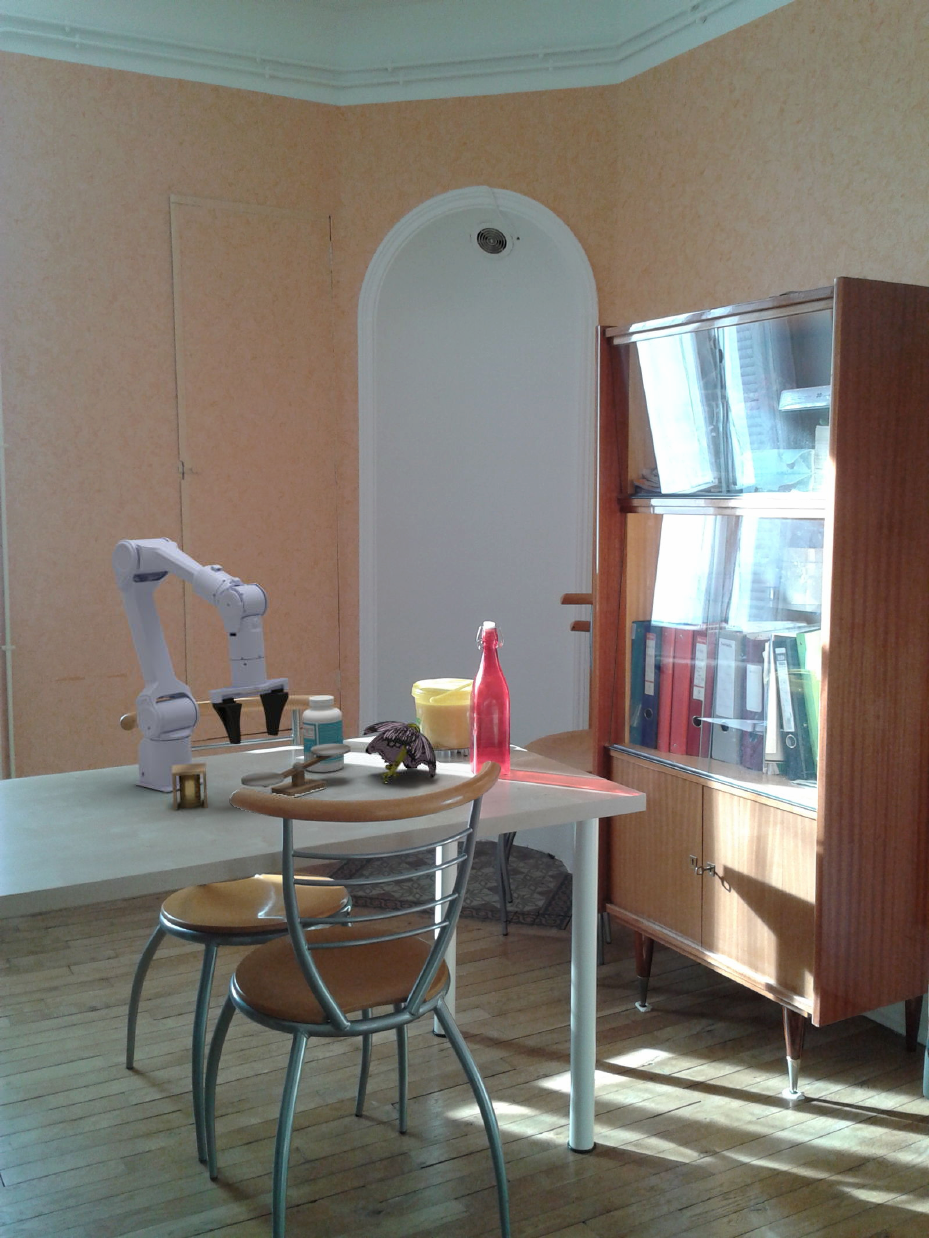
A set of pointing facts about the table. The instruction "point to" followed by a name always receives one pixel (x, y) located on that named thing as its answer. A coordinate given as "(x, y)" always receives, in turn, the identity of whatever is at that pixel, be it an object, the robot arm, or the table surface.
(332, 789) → the table surface
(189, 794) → the cylinder
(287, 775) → the balance
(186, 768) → the small wooden stool
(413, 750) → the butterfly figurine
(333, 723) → the pill bottle
